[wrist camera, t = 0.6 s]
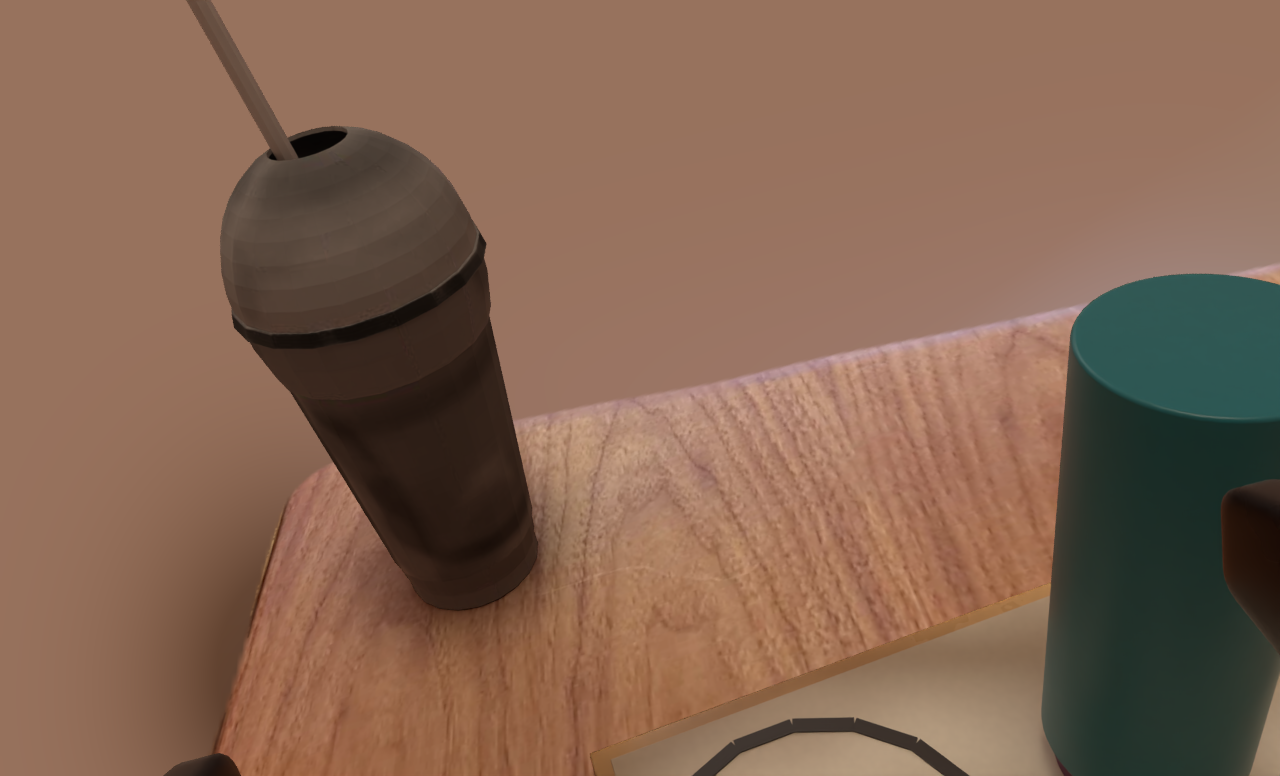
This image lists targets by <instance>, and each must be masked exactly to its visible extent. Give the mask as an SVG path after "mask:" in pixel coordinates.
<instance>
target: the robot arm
mask: <svg viewBox="0 0 1280 776" xmlns="http://www.w3.org/2000/svg"><path fill="white" fill-rule="evenodd" d="M1221 533H1222V559H1223V573H1224V577H1225V581H1226V584H1227V586H1228V589H1229V590H1230V592H1231V594H1232V596H1233V597H1234V599H1235V600H1236V601H1237V603H1238V604H1239V605H1240V606H1241V608H1242V609H1243V610H1244V611H1245V613H1246V614H1247V615H1248V616H1249V618H1250V619H1251V620H1252V621H1253V623H1254V624H1255V625H1256V626H1257V628H1258V629H1259V630H1260V631H1261V633H1262V634H1263V635H1264V636H1265V638H1266V639H1267V640H1268V641H1269V643H1270V644H1271V645H1272V646H1273V648H1274V649H1275V650H1276V651H1277V653H1278V654H1279V655H1280V480H1279V479H1269V480H1263V481H1260V482H1256V483H1252V484H1248V485H1245V486H1241V487H1237V488H1234V489H1231V490H1229V491H1228V492H1227V493H1226V494H1225V495H1224V497H1223V499H1222V502H1221ZM164 776H241V775H240V773H239V770H238V768H237V766H236V765H235V763H234V762H233V760H232V759H231V758H230V757H229V756H226V755H224V754H221V753H218V754H213V755H209V756H206V757H202V758H198V759H194V760H190V761H187V762H182V763H180V764H178V765H176V766H174V767H173V768H172V769H171V770H169V771H168V772H167V773H166V774H165V775H164Z"/></svg>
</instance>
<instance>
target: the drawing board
mask: <svg viewBox="0 0 1280 776" xmlns="http://www.w3.org/2000/svg"><path fill="white" fill-rule="evenodd" d="M1050 590H1051V582H1050V583H1048V584H1045V585H1042V586H1040V587H1037V588H1034V589H1032V590H1029V591H1026V592H1024V593H1021V594H1018V595H1015V596H1013V597H1010V598H1007V599H1005V600H1002V601H999V602H997V603H994V604H991V605H989V606H986V607H983V608H980V609H978V610H975V611H972V612H970V613H967V614H964V615H962V616H959V617H956V618H954V619H951V620H948V621H945V622H943V623H940V624H937V625H935V626H932V627H929V628H927V629H924V630H921V631H919V632H916V633H913V634H910V635H908V636H905V637H902V638H900V639H897V640H894V641H892V642H889V643H886V644H884V645H881V646H878V647H875V648H873V649H870V650H867V651H865V652H862V653H859V654H857V655H854V656H851V657H849V658H846V659H843V660H840V661H838V662H835V663H832V664H830V665H827V666H824V667H822V668H819V669H816V670H814V671H811V672H808V673H806V674H803V675H800V676H797V677H795V678H792V679H789V680H787V681H784V682H781V683H779V684H776V685H773V686H771V687H768V688H765V689H762V690H760V691H757V692H754V693H752V694H749V695H746V696H744V697H741V698H738V699H736V700H733V701H730V702H727V703H725V704H722V705H719V706H717V707H714V708H711V709H709V710H706V711H703V712H701V713H698V714H695V715H692V716H690V717H687V718H684V719H682V720H679V721H676V722H674V723H671V724H668V725H666V726H663V727H660V728H657V729H655V730H652V731H649V732H647V733H644V734H641V735H639V736H636V737H633V738H631V739H628V740H625V741H622V742H620V743H617V744H614V745H612V746H609V747H606V748H604V749H601V750H598V751H596V752H593V753H591V754H590V758H591V761H592V765H593V769H594V772H595V776H1064V774H1063V773H1062V771H1061V769H1060V767H1059V765H1058V763H1057V760H1056V757H1055V754H1054V752H1053V750H1052V749H1051V747H1050V745H1049V743H1048V741H1047V738H1046V735H1045V732H1044V729H1043V724H1042V718H1041V706H1042V693H1043V681H1044V668H1045V655H1046V642H1047V629H1048V616H1049V603H1050ZM1249 776H1280V674H1279V678H1278V681H1277V685H1276V688H1275V691H1274V695H1273V698H1272V702H1271V705H1270V708H1269V712H1268V715H1267V718H1266V722H1265V725H1264V729H1263V732H1262V735H1261V739H1260V742H1259V746H1258V749H1257V752H1256V756H1255V759H1254V763H1253V766H1252V769H1251V772H1250V774H1249Z"/></svg>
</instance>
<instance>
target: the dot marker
mask: <svg viewBox="0 0 1280 776" xmlns="http://www.w3.org/2000/svg"><path fill="white" fill-rule="evenodd" d="M1269 479H1279V480H1280V285H1278V284H1275V283H1270V282H1266V281H1262V280H1257V279H1252V278H1246V277H1239V276H1230V275H1219V274H1181V275H1180V274H1179V275H1168V276H1160V277H1153V278H1148V279H1144V280H1139V281H1135V282H1132V283H1129V284H1125V285H1122V286H1120V287H1117V288H1115V289H1112V290H1110V291H1108V292H1106V293H1104V294H1102V295H1101V296H1099V297H1098V298H1096V299H1095V300H1093V301H1092V302H1091V303H1090V304H1088V305H1087V306H1086V307H1085V308H1084V309H1083V310H1082V312H1081V313H1080V314H1079V316H1078V317H1077V318H1076V320H1075V322H1074V325H1073V327H1072V330H1071V335H1070V346H1069V359H1068V372H1067V385H1066V397H1065V410H1064V423H1063V436H1062V449H1061V462H1060V475H1059V487H1058V500H1057V513H1056V526H1055V539H1054V552H1053V565H1052V578H1051V590H1050V603H1049V616H1048V629H1047V642H1046V655H1045V668H1044V681H1043V693H1042V706H1041V718H1042V724H1043V729H1044V732H1045V735H1046V738H1047V741H1048V743H1049V745H1050V747H1051V749H1052V750H1053V752H1054V754H1055V757H1056V760H1057V763H1058V765H1059V767H1060V769H1061V771H1062V773H1063V774H1064V776H1249V774H1250V772H1251V769H1252V766H1253V763H1254V759H1255V756H1256V752H1257V749H1258V746H1259V742H1260V739H1261V735H1262V732H1263V729H1264V725H1265V722H1266V718H1267V715H1268V712H1269V708H1270V705H1271V702H1272V698H1273V695H1274V691H1275V688H1276V685H1277V681H1278V678H1279V674H1280V655H1279V654H1278V653H1277V651H1276V650H1275V649H1274V648H1273V646H1272V645H1271V644H1270V643H1269V641H1268V640H1267V639H1266V638H1265V636H1264V635H1263V634H1262V633H1261V631H1260V630H1259V629H1258V628H1257V626H1256V625H1255V624H1254V623H1253V621H1252V620H1251V619H1250V618H1249V616H1248V615H1247V614H1246V613H1245V611H1244V610H1243V609H1242V608H1241V606H1240V605H1239V604H1238V603H1237V601H1236V600H1235V599H1234V597H1233V596H1232V594H1231V592H1230V590H1229V589H1228V586H1227V584H1226V581H1225V577H1224V573H1223V559H1222V533H1221V502H1222V499H1223V497H1224V495H1225V494H1226V493H1227V492H1228V491H1229V490H1231V489H1234V488H1237V487H1241V486H1245V485H1248V484H1252V483H1256V482H1260V481H1263V480H1269Z"/></svg>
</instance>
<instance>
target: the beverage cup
mask: <svg viewBox="0 0 1280 776" xmlns="http://www.w3.org/2000/svg"><path fill="white" fill-rule="evenodd" d="M187 2H188V4H189V6H190V8H191V9H192V11H193V13H194V15H195V16H196V18H197V20H198V22H199V23H200V25H201V27H202V29H203V30H204V32H205V34H206V36H207V38H208V39H209V41H210V43H211V44H212V46H213V48H214V50H215V51H216V53H217V55H218V57H219V59H220V60H221V62H222V64H223V66H224V67H225V69H226V71H227V73H228V74H229V76H230V78H231V80H232V81H233V83H234V85H235V86H236V89H237V90H238V92H239V94H240V96H241V97H242V99H243V101H244V103H245V104H246V106H247V108H248V110H249V111H250V113H251V115H252V117H253V119H254V120H255V122H256V124H257V125H258V127H259V129H260V131H261V133H262V134H263V136H264V138H265V140H266V141H267V143H268V145H269V147H270V149H269V150H267V151H266V152H265V153H264V154H263V155H261V156H260V157H258V158H257V159H256V160H255V161H254V163H253V164H252V165H251V166H250V167H249V169H248V170H247V171H246V172H245V174H244V175H243V176H242V178H241V179H240V180H239V182H238V183H237V185H236V187H235V189H234V191H233V193H232V195H231V196H230V199H229V201H228V204H227V207H226V210H225V213H224V217H223V222H222V230H221V238H220V239H221V240H220V245H221V246H220V248H221V249H220V252H221V268H222V269H221V270H222V277H223V281H224V286H225V291H226V295H227V297H228V300H229V302H230V305H231V307H232V319H233V324H234V328H235V329H236V330H237V331H238V332H239V333H240V334H241V335H242V336H243V337H244V338H245V339H246V340H247V341H248V342H250V343H251V345H252V347H253V349H254V350H255V351H256V353H257V354H258V355H259V356H260V358H261V359H262V360H263V361H264V363H265V364H266V365H267V366H268V367H269V369H270V370H271V371H272V373H273V374H274V375H275V377H276V378H277V379H278V380H279V381H280V382H281V383H282V384H283V385H284V386H285V387H286V388H287V389H288V390H289V391H290V392H291V394H292V395H293V397H294V399H295V400H296V402H297V404H298V405H299V407H300V408H301V410H302V412H303V413H304V415H305V416H306V418H307V420H308V421H309V423H310V425H311V426H312V428H313V430H314V431H315V433H316V434H317V436H318V438H319V439H320V441H321V443H322V444H323V446H324V447H325V449H326V451H327V452H328V454H329V456H330V457H331V459H332V461H333V462H334V464H335V465H336V467H337V469H338V470H339V472H340V474H341V475H342V477H343V478H344V480H345V482H346V483H347V485H348V487H349V488H350V490H351V491H352V493H353V495H354V496H355V498H356V500H357V501H358V503H359V504H360V506H361V508H362V509H363V511H364V513H365V514H366V516H367V517H368V519H369V521H370V522H371V524H372V526H373V527H374V529H375V530H376V532H377V534H378V535H379V537H380V539H381V540H382V542H383V544H384V545H385V547H386V548H387V550H388V552H389V553H390V555H391V557H392V558H393V560H394V561H395V563H396V564H397V565H398V566H399V567H400V568H401V569H402V571H403V572H404V573H405V575H406V576H407V578H408V579H409V580H410V581H411V583H412V585H413V587H414V589H415V591H416V592H417V594H418V595H419V596H420V597H421V598H422V599H423V600H424V602H427V603H429V604H431V605H433V606H435V607H438V608H441V609H452V610H462V609H468V608H474V607H479V606H482V605H484V604H487V603H489V602H492V601H494V600H497V599H499V598H501V597H502V596H504V595H505V594H507V593H508V592H509V591H511V590H512V589H514V588H515V587H517V586H518V585H519V583H520V582H521V581H522V580H523V579H524V578H525V577H526V576H527V575H528V573H529V572H530V570H531V568H532V566H533V564H534V562H535V560H536V558H537V546H538V542H537V539H536V536H535V533H534V524H533V519H532V505H531V501H530V496H529V492H528V487H527V483H526V478H525V474H524V469H523V465H522V460H521V456H520V451H519V447H518V442H517V438H516V434H515V429H514V425H513V420H512V416H511V411H510V407H509V402H508V398H507V394H506V389H505V384H504V380H503V376H502V371H501V367H500V362H499V357H498V354H497V349H496V344H495V340H494V336H493V331H492V326H491V322H490V317H489V313H490V307H491V302H490V292H489V283H488V273H487V267H486V264H485V260H484V254H485V249H486V242H485V240H484V239H483V237H482V235H481V233H480V232H479V230H478V229H477V227H476V225H475V224H474V222H473V220H472V219H471V217H470V214H469V212H468V211H467V209H466V207H465V206H464V204H463V202H462V201H461V199H460V197H459V196H458V194H457V192H456V190H455V189H454V187H453V185H452V184H451V182H450V181H449V180H448V179H447V178H446V176H445V175H444V174H443V173H442V172H441V170H440V169H439V168H438V167H437V166H436V165H434V164H433V163H432V162H431V161H430V160H429V159H428V158H427V157H425V156H424V155H423V154H421V153H420V152H418V151H417V150H415V149H413V148H412V147H410V146H409V145H407V144H405V143H403V142H400V141H398V140H396V139H394V138H391V137H389V136H386V135H384V134H382V133H380V132H377V131H372V130H368V129H364V128H358V127H340V126H339V127H338V126H331V127H322V128H316V129H311V130H308V131H305V132H301V133H298V134H296V135H293V136H291V137H289V138H287V136H286V134H285V133H284V131H283V129H282V127H281V126H280V124H279V122H278V120H277V118H276V117H275V115H274V113H273V111H272V109H271V108H270V106H269V104H268V102H267V100H266V99H265V97H264V95H263V93H262V91H261V90H260V88H259V86H258V84H257V82H256V81H255V79H254V77H253V75H252V74H251V72H250V70H249V68H248V66H247V64H246V63H245V61H244V59H243V57H242V56H241V54H240V52H239V50H238V48H237V47H236V45H235V43H234V41H233V39H232V38H231V36H230V34H229V32H228V30H227V29H226V27H225V25H224V23H223V21H222V20H221V18H220V16H219V14H218V12H217V11H216V9H215V7H214V5H213V3H212V2H211V0H187Z"/></svg>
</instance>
